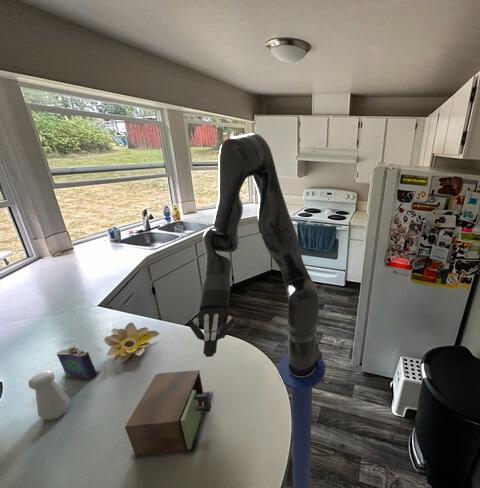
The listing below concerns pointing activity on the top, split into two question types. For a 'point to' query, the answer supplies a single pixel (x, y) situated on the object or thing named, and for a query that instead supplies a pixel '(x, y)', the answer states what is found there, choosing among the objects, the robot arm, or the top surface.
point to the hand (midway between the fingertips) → (209, 356)
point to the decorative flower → (128, 341)
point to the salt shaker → (49, 396)
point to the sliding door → (194, 416)
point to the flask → (76, 363)
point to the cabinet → (164, 413)
